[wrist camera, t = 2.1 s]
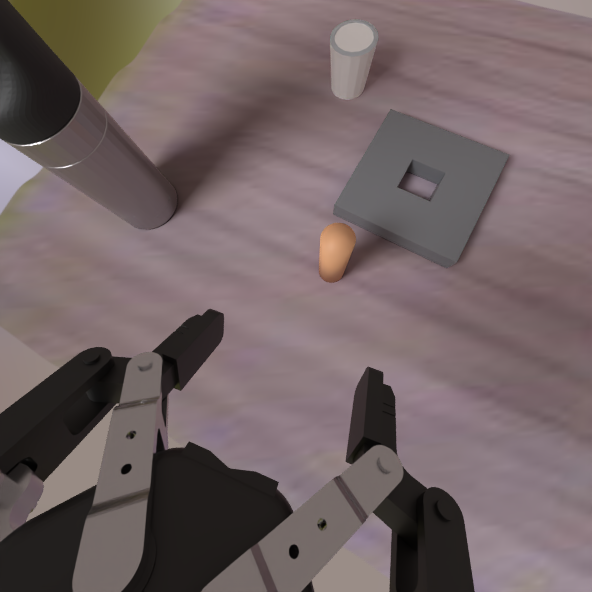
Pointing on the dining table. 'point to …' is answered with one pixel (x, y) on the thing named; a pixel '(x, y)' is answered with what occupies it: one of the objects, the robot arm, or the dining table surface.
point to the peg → (335, 251)
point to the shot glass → (351, 57)
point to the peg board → (413, 209)
